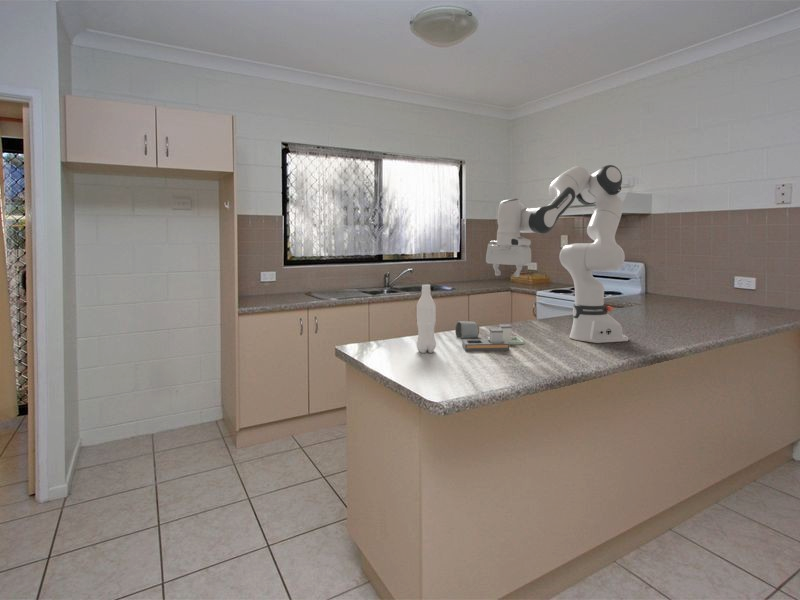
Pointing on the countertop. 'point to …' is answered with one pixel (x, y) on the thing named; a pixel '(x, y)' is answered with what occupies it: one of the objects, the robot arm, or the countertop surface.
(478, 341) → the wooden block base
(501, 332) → the twin plug
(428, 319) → the water bottle
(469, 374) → the countertop surface
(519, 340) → the tray
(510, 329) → the plug
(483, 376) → the countertop surface
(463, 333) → the ceramic mug
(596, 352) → the countertop surface
